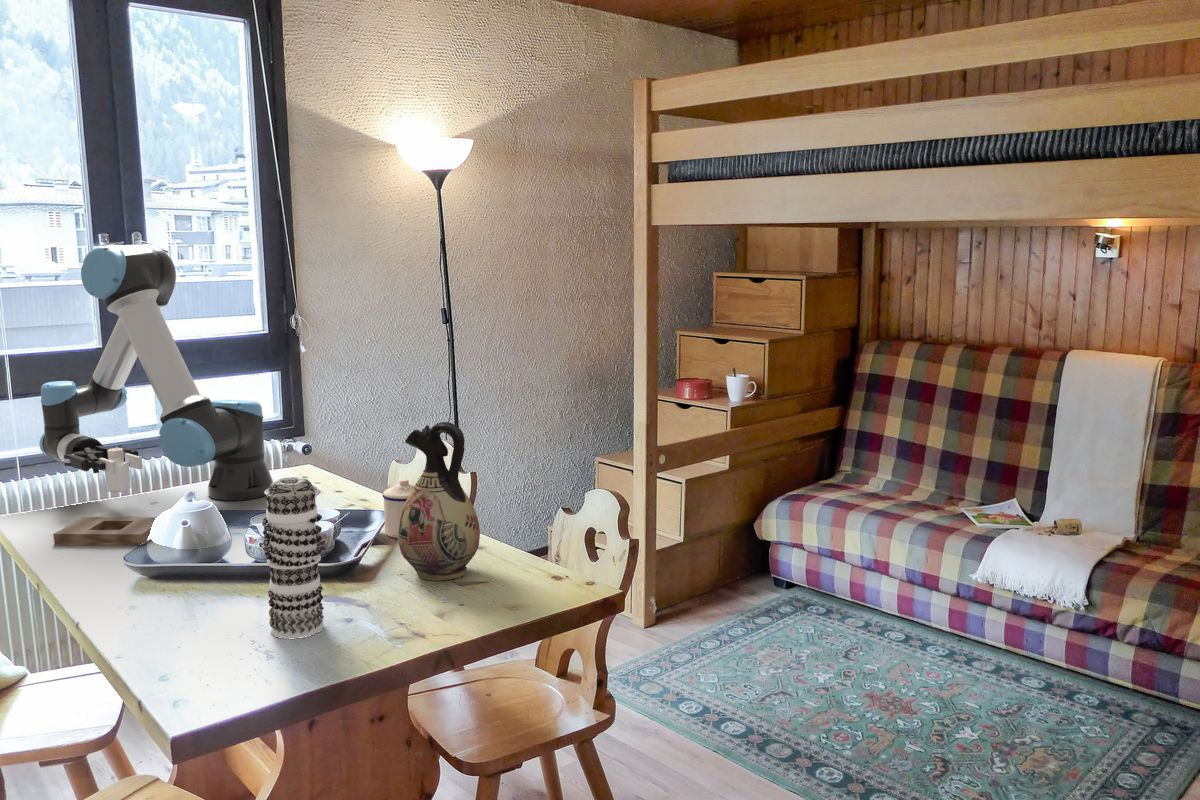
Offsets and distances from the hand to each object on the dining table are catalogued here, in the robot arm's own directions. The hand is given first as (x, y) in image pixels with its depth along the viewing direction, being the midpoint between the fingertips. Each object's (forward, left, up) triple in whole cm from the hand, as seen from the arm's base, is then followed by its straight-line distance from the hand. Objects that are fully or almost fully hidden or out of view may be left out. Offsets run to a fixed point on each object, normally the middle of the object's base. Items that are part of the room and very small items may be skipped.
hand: (127, 465), depth 220 cm
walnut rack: (-2, +14, -12) cm, 18 cm away
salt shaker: (+4, -3, -7) cm, 9 cm away
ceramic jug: (-75, +36, -12) cm, 84 cm away
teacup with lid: (-62, +9, -12) cm, 64 cm away
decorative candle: (-55, +62, -12) cm, 84 cm away
